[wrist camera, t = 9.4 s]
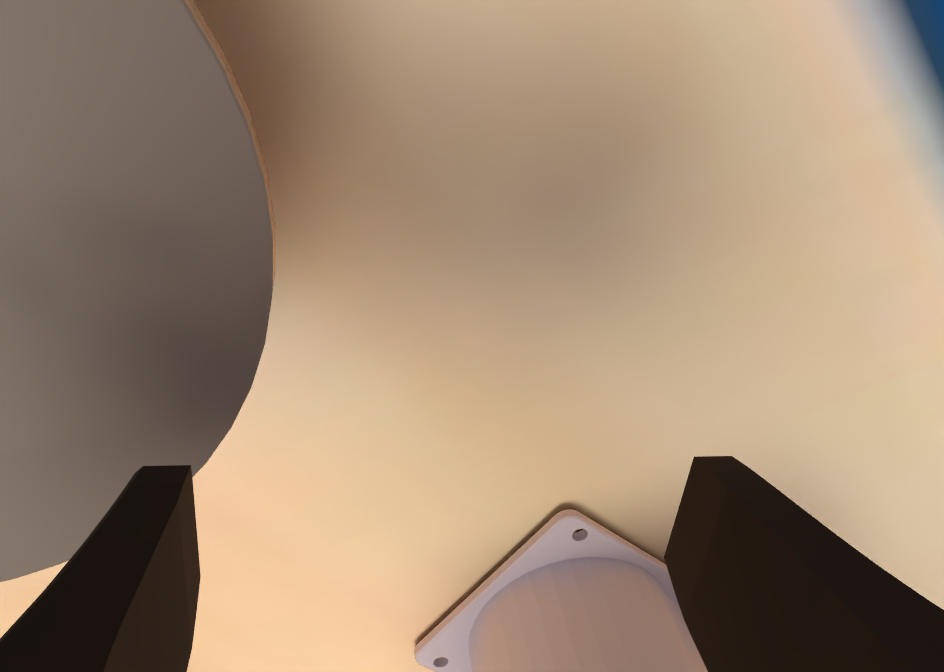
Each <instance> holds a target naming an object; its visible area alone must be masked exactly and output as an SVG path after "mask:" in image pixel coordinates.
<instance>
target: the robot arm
mask: <svg viewBox="0 0 944 672" xmlns="http://www.w3.org/2000/svg"><path fill="white" fill-rule="evenodd" d="M578 529H583V530H581V531H579V532H574V531H576V530H578ZM664 559H665V562H666V564H664V563H663V562H661V561H659V560H658V559H656V558H654V557H653V556H651V555H649V554H648V553H646V552H644V551H643V550H641V549H639V548H638V547H636V546H634V545H633V544H631V543H629V542H628V541H626V540H624V539H623V538H621V537H619V536H618V535H616V534H614V533H613V532H611V531H609V530H608V529H606V528H604V527H603V526H601V525H599V524H598V523H596V522H594V521H593V520H591V519H589V518H588V517H586V516H584V515H583V514H581V513H579V512H578V511H575V510H572V509H566V510H563V511H560V512H559V513H557V514H556V515H555V516H554V517H553V518H551V519H550V520H549V521H548V522H547V523H546V524H545V525H544V526H543V527H542V528H541V529H540V530H539V531H538V532H537V533H535V534H534V535H533V536H532V537H531V538H530V539H529V540H528V541H527V542H526V543H525V544H524V545H523V546H522V547H521V548H519V549H518V550H517V551H516V552H515V553H514V554H513V555H512V556H511V557H510V558H509V559H508V560H507V561H506V562H505V563H503V564H502V565H501V566H500V567H499V568H498V569H497V570H496V571H495V572H494V573H493V574H492V575H491V576H490V577H489V578H487V579H486V580H485V581H484V582H483V583H482V584H481V585H480V586H479V587H478V588H477V589H476V590H475V591H474V592H472V593H471V594H470V595H469V596H468V597H467V598H466V599H465V600H464V601H463V602H462V603H461V604H460V605H459V606H458V607H456V608H455V609H454V610H453V611H452V612H451V613H450V614H449V615H448V616H447V617H446V618H445V619H444V620H443V621H442V622H440V623H439V624H438V625H437V626H436V627H435V628H434V629H433V630H432V631H431V632H430V633H429V634H428V635H427V636H426V637H424V638H423V639H422V640H421V641H420V642H419V643H418V644H417V645H416V647H415V650H414V653H415V660H416V662H417V663H419V664H420V665H422V666H425V667H427V668H429V669H432V670H434V671H436V672H944V610H943V609H941V608H939V607H938V606H936V605H935V604H933V603H932V602H930V601H929V600H927V599H926V598H924V597H923V596H921V595H920V594H918V593H917V592H916V591H914V590H913V589H911V588H910V587H908V586H907V585H905V584H904V583H902V582H901V581H899V580H898V579H897V578H895V577H894V576H892V575H891V574H889V573H888V572H886V571H885V570H884V569H882V568H881V567H879V566H878V565H877V564H875V563H874V562H872V561H871V560H870V559H868V558H867V557H866V556H864V555H863V554H861V553H860V552H859V551H857V550H856V549H855V548H853V547H852V546H851V545H849V544H848V543H847V542H845V541H844V540H843V539H841V538H840V537H839V536H837V535H836V534H835V533H833V532H832V531H831V530H829V529H828V528H827V527H825V526H824V525H823V524H821V523H820V522H819V521H818V520H816V519H815V518H814V517H812V516H811V515H810V514H808V513H807V512H806V511H805V510H803V509H802V508H801V507H799V506H798V505H797V504H796V503H794V502H793V501H792V500H790V499H789V498H788V497H787V496H785V495H784V494H783V493H781V492H780V491H779V490H777V489H776V488H775V487H774V486H772V485H771V484H770V483H768V482H767V481H766V480H764V479H763V478H762V477H760V476H759V475H758V474H756V473H755V472H754V471H752V470H751V469H750V468H748V467H747V466H745V465H744V464H743V463H741V462H740V461H738V460H737V459H735V458H734V457H732V456H712V457H694V459H693V462H692V465H691V469H690V472H689V475H688V479H687V482H686V486H685V489H684V492H683V496H682V499H681V502H680V506H679V509H678V512H677V516H676V519H675V522H674V526H673V529H672V532H671V536H670V539H669V542H668V546H667V549H666V552H665V556H664ZM199 584H200V566H199V554H198V542H197V530H196V518H195V506H194V493H193V481H192V469H191V465H168V466H142V467H141V468H140V469H139V470H138V471H137V472H135V473H134V475H133V476H132V478H131V479H130V481H129V482H128V484H127V485H126V487H125V488H124V489H123V491H122V492H121V494H120V495H119V496H118V498H117V499H116V501H115V502H114V503H113V505H112V506H111V507H110V509H109V510H108V512H107V513H106V514H105V516H104V517H103V518H102V520H101V521H100V522H99V523H98V525H97V526H96V527H95V529H94V530H93V531H92V533H91V534H90V535H89V536H88V538H87V539H86V540H85V542H84V543H83V544H82V545H81V546H80V548H79V549H78V550H77V551H76V553H75V554H74V555H73V556H72V557H71V559H70V560H69V561H68V562H67V564H66V565H65V566H64V567H63V568H62V570H61V571H60V572H59V573H58V575H57V576H56V577H55V578H54V579H53V581H52V582H51V583H50V584H49V585H48V586H47V588H46V589H45V590H44V591H43V592H42V593H41V595H40V596H39V597H38V598H37V599H36V600H35V601H34V602H33V603H32V604H31V606H30V607H29V608H28V609H27V610H26V611H25V612H24V613H23V614H22V615H21V617H20V618H19V619H18V620H17V621H16V622H15V623H14V624H13V625H12V626H11V627H10V629H9V630H8V631H7V632H6V633H5V634H4V635H3V636H2V637H1V638H0V672H186V671H187V667H188V663H189V658H190V654H191V649H192V643H193V635H194V627H195V619H196V610H197V602H198V593H199ZM439 657H440V658H439Z"/></svg>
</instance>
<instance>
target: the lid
mask: <svg viewBox="0 0 944 672" xmlns="http://www.w3.org/2000/svg"><path fill="white" fill-rule="evenodd" d="M274 274H275V222H274V216H273V209H272V202H271V195H270V188H269V181H268V175H267V169H266V165H265V162H264V158H263V155H262V151H261V148H260V144H259V141H258V137H257V134H256V130H255V127H254V124H253V120H252V117H251V113H250V111H249V109H248V106H247V104H246V102H245V99H244V97H243V95H242V92H241V90H240V88H239V85H238V83H237V81H236V79H235V76H234V74H233V72H232V69H231V67H230V65H229V62H228V60H227V58H226V55H225V54H224V52H223V50H222V48H221V47H220V45H219V43H218V42H217V40H216V38H215V36H214V35H213V33H212V31H211V30H210V28H209V26H208V24H207V23H206V21H205V19H204V17H203V16H202V14H201V12H200V11H199V9H198V7H197V5H196V4H195V2H194V0H0V582H2V581H6V580H11V579H15V578H18V577H21V576H24V575H28V574H31V573H34V572H37V571H40V570H43V569H46V568H49V567H52V566H55V565H58V564H61V563H63V562H66V561H68V560H70V559H71V557H72V556H73V555H74V554H75V553H76V551H77V550H78V549H79V548H80V546H81V545H82V544H83V543H84V542H85V540H86V539H87V538H88V536H89V535H90V534H91V533H92V531H93V530H94V529H95V527H96V526H97V525H98V523H99V522H100V521H101V520H102V518H103V517H104V516H105V514H106V513H107V512H108V510H109V509H110V507H111V506H112V505H113V503H114V502H115V501H116V499H117V498H118V496H119V495H120V494H121V492H122V491H123V489H124V488H125V487H126V485H127V484H128V482H129V481H130V479H131V478H132V476H133V475H134V473H135V472H137V471H138V470H139V469H140V468H141V467H142V466H168V465H191V469H192V477H193V476H194V475H195V474H196V473H197V472H198V471H199V470H200V469H201V468H202V467H203V466H204V465H205V464H206V462H207V461H208V460H209V458H210V457H211V455H212V454H213V452H214V451H215V450H216V448H217V447H218V445H219V444H220V443H221V441H222V440H223V438H224V437H225V435H226V434H227V433H228V431H229V430H230V428H231V427H232V425H233V423H234V421H235V419H236V417H237V415H238V413H239V411H240V409H241V407H242V405H243V403H244V401H245V399H246V397H247V395H248V393H249V391H250V389H251V386H252V383H253V380H254V377H255V373H256V370H257V367H258V364H259V361H260V358H261V354H262V351H263V348H264V345H265V339H266V333H267V326H268V319H269V312H270V306H271V299H272V291H273V283H274Z"/></svg>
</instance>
